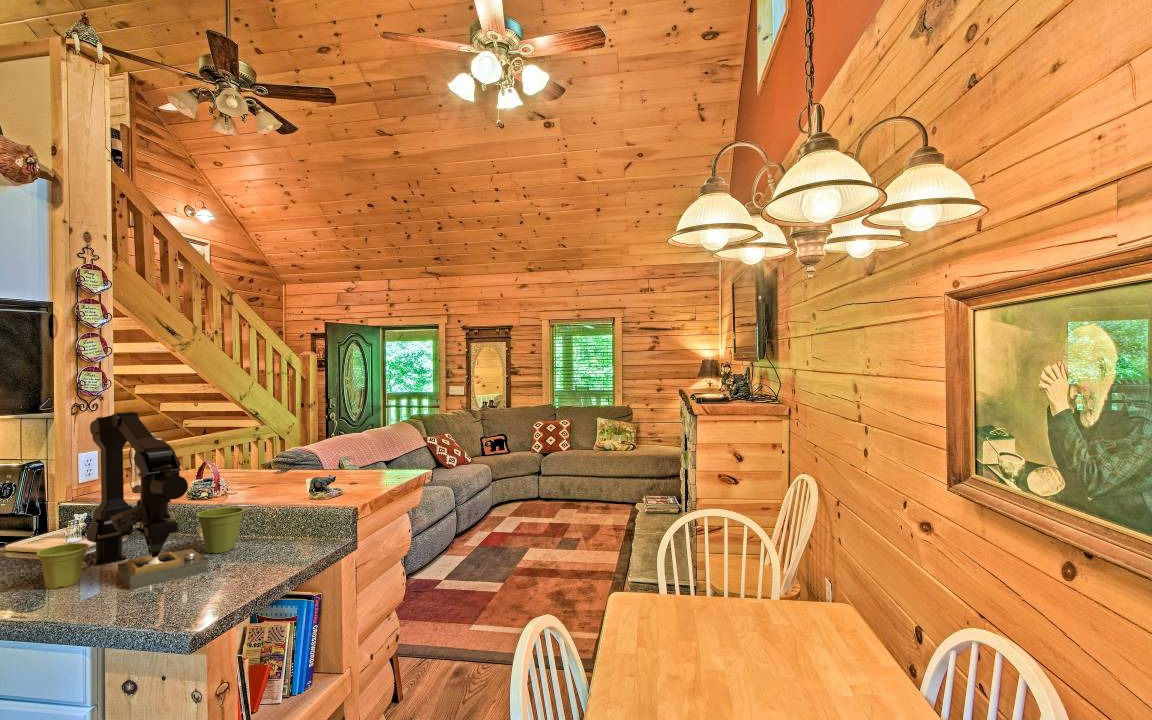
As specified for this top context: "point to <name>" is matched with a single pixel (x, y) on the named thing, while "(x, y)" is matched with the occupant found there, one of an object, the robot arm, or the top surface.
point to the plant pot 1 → (62, 564)
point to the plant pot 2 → (220, 528)
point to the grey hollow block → (161, 568)
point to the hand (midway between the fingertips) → (153, 556)
